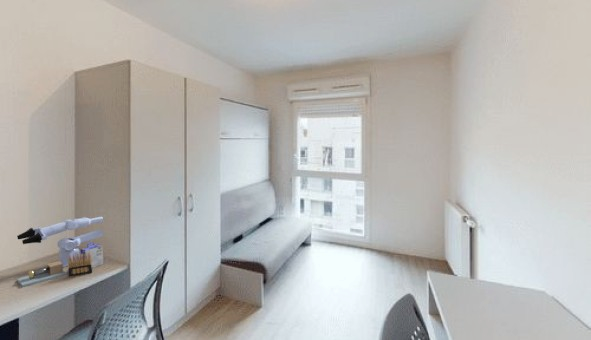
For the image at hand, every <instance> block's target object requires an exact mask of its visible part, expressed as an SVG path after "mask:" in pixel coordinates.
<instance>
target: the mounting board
mask: <svg viewBox="0 0 591 340" xmlns="http://www.w3.org/2000/svg"><path fill="white" fill-rule="evenodd" d="M48 267H50V272H48V273H45V274H41V275H37V276H34V278H30V279H29V275H25V276H22V277H19V278H17V282H18V283H19V285H20V286H21V288H25V287H29V286H33V285H36V284H39V283H40V284H41V283H44V282H47V281H50V280H53V279H57V278H61V277H64V276H68V274H67V273H68V272H66V271H65V270H64V267H63V264H62V263H61V262H60V260H57V261H54V262H50V263H47V264H46V268H48Z"/></svg>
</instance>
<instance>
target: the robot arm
mask: <svg viewBox="0 0 591 340" xmlns="http://www.w3.org/2000/svg"><path fill="white" fill-rule="evenodd" d="M99 223H104V222H103V217H102V216H98V217H94V218H92V217H91V218H88V217H85V216H82V217H81V218H73V219H64V220H63V221H62V222H58V223H55V224H52V225H48V226H45V227H40V226H38V228H37V227H35V228H33V227H30V228H28V229H27V230H26V231H24V232H22V233H21V234H18V235H17V236H16V237H17V240H21V241H22V242H21V243H22V244H23V245H28V244H41V243H42V241H45V240H47V239H48V237H51V236H53V235H57V234H60V233H63V232H66V231H74V230H76V229H80V228H85V227H89V226H90V225H91V224H99ZM102 234H103V230H101V228H98V229H96V230H92V231H89V232H87V233H83V234H81V235H78V236H71V237H70V236H69V237H64V238H61V239H59V241H57V247H58V248H59V250H58V252H59V253H58V254H59V261H60V262H61V263H62V264H63V268H65V267H68V263H69V256H71V260H72V262H73V255H75V260H76V261H77V254H78V255H79V260H80V257H81V251H80V248H79V246H80V245H81V244H83V243H87V242H90V241H92V240H96V239H98V238H101V237H103V236H102Z"/></svg>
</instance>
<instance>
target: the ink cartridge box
mask: <svg viewBox="0 0 591 340" xmlns="http://www.w3.org/2000/svg"><path fill="white" fill-rule="evenodd" d="M86 246H87V247H84V248H80V255H81V254H82V255H83V260H84V256H85V253H86V255H87V260H88V254H89V253H90V254H91V262H92V269H93V268H96V267H100V266H102V265H103V264H104V255H103V253H104V251H103V245H102V244H98V243H97V244H95V242H88V243H86Z"/></svg>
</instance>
